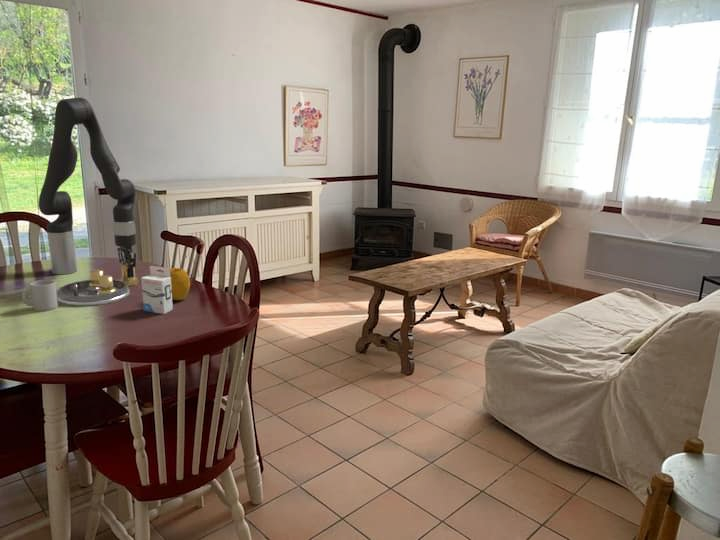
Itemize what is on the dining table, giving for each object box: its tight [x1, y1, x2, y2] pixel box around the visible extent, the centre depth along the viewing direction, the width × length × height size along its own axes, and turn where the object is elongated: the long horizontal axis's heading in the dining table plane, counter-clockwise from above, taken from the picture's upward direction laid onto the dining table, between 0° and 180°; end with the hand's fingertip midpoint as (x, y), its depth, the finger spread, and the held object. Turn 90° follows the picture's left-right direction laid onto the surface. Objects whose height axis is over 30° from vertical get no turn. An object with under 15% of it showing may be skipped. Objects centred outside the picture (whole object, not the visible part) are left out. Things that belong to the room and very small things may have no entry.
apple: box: [169, 267, 191, 301], centre depth 196 cm, size 10×10×12 cm
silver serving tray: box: [57, 269, 131, 307], centre depth 197 cm, size 24×24×8 cm
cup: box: [21, 279, 59, 312], centre depth 182 cm, size 7×10×9 cm
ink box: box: [140, 265, 174, 315], centre depth 183 cm, size 8×5×15 cm, turn 73°
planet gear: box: [118, 263, 140, 287], centre depth 213 cm, size 7×7×8 cm
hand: (128, 275), depth 213 cm, fingers closed on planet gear, 4 cm apart
